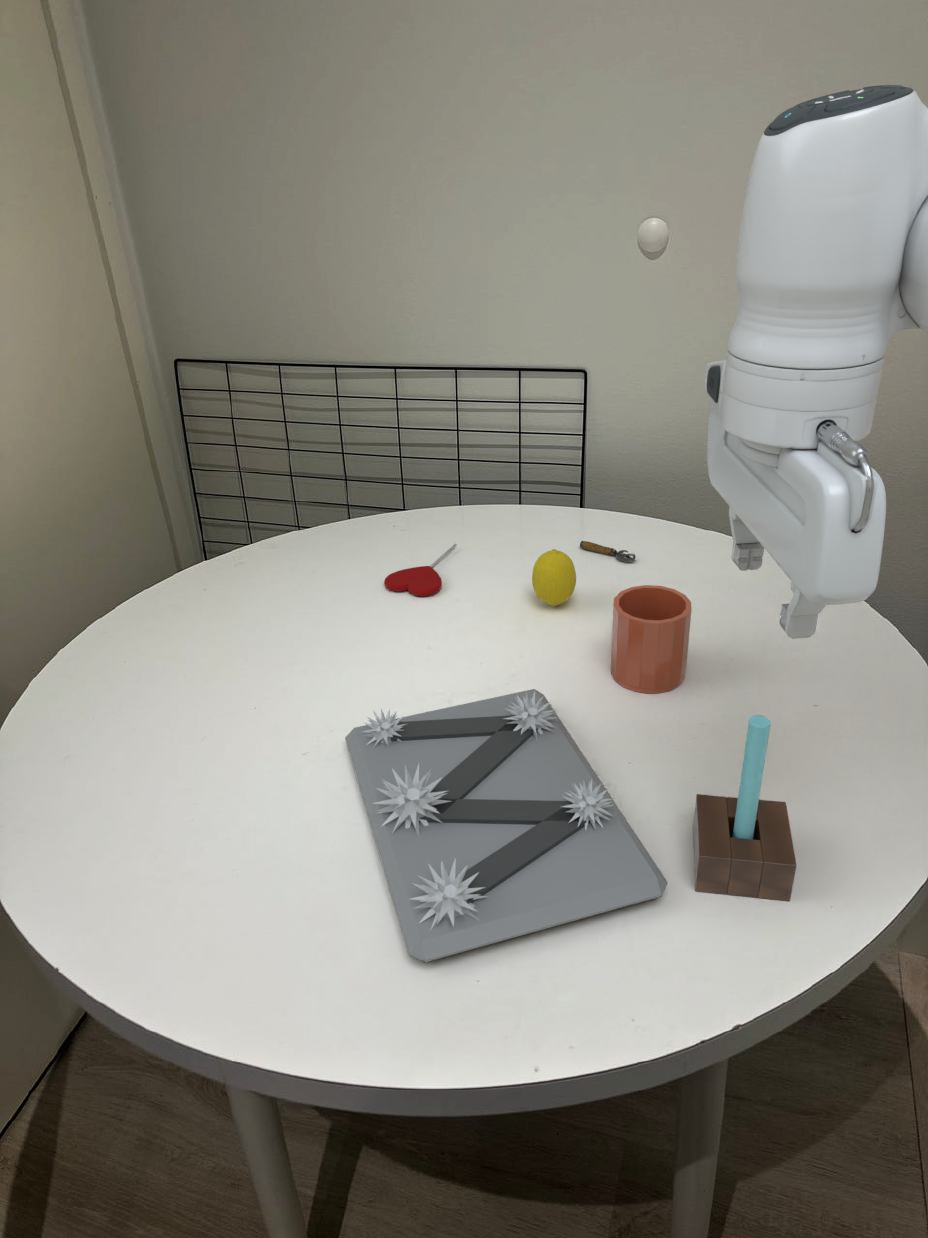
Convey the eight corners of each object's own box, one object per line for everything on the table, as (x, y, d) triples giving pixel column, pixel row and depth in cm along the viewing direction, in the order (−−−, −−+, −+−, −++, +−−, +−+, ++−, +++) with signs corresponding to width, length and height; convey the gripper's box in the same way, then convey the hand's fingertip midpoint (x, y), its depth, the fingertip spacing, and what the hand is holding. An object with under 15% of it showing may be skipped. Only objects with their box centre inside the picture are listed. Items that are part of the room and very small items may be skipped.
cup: (684, 655, 103) (690, 586, 99) (685, 696, 96) (692, 624, 92) (612, 650, 105) (615, 583, 100) (608, 691, 98) (611, 620, 93)
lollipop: (431, 543, 132) (378, 588, 121) (430, 537, 132) (377, 582, 120) (480, 552, 129) (431, 599, 117) (480, 546, 128) (430, 593, 117)
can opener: (578, 549, 128) (578, 541, 128) (588, 543, 130) (588, 535, 129) (633, 566, 123) (633, 558, 122) (642, 559, 124) (642, 552, 124)
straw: (748, 857, 76) (769, 715, 69) (749, 871, 75) (771, 728, 67) (728, 855, 76) (748, 713, 69) (729, 869, 75) (749, 726, 68)
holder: (779, 836, 78) (785, 801, 76) (789, 901, 72) (796, 866, 70) (692, 828, 79) (696, 793, 77) (695, 891, 73) (699, 856, 71)
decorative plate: (672, 904, 72) (678, 840, 69) (413, 977, 67) (405, 912, 64) (540, 700, 97) (539, 644, 94) (345, 743, 92) (336, 686, 89)
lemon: (523, 605, 115) (522, 550, 111) (554, 591, 118) (554, 536, 114) (554, 621, 111) (554, 564, 107) (584, 605, 114) (586, 549, 110)
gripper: (937, 453, 46) (886, 678, 53) (785, 354, 63) (762, 532, 70) (816, 462, 45) (780, 686, 52) (697, 360, 63) (683, 538, 70)
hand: (769, 597), depth 61 cm, fingers open, 8 cm apart
